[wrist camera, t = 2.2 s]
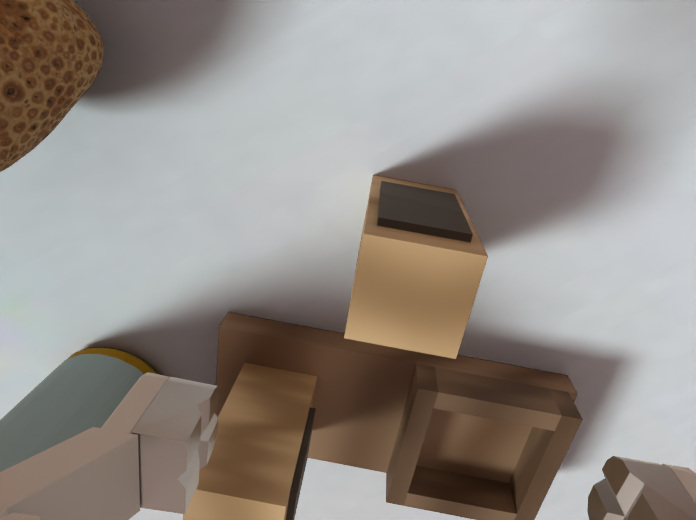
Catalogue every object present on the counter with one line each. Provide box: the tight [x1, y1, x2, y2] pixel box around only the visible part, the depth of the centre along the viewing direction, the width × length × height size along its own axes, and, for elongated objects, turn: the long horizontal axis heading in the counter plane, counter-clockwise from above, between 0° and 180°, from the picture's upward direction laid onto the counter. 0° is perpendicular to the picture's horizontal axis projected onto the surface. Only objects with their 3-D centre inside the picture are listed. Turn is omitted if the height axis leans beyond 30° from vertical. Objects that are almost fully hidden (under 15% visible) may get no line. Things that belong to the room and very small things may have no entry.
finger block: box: [344, 175, 488, 359], centre depth 19 cm, size 4×4×8 cm
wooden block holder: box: [183, 312, 582, 520], centre depth 23 cm, size 19×8×10 cm, turn 81°
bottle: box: [0, 348, 157, 472], centre depth 22 cm, size 7×7×15 cm
